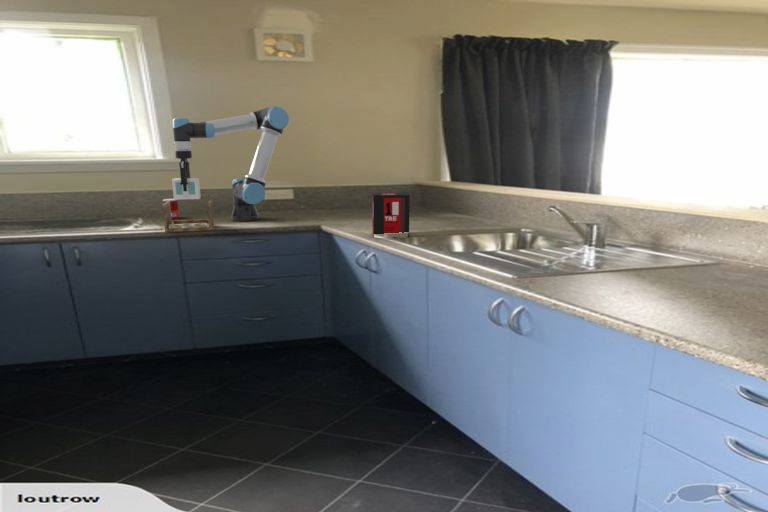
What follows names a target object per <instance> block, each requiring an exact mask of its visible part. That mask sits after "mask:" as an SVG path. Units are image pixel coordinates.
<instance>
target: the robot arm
mask: <svg viewBox="0 0 768 512" xmlns="http://www.w3.org/2000/svg"><path fill="white" fill-rule="evenodd" d="M289 122H290V118H289V114H288V112H287V111H286V109H285V108H283V107H282V106H276V105H275V106H270V107H268V106H267V107H265V108H262V109H259V110H255V111H251V112H249V114H243V115H236V116H231V117H225V118H220V119H214V120H207V121H202V122H191V121H190V120H189V119H188V118H187V117H186V118H185V117H175V118H173V119H172V131H173V139H174V140H173V141H174V143H173V146H174V150H175V151H174V153H175V159H178V160H179V159H180V162H179V164H178V165H179V173H180V178H181V183H180V185H182V190H183V198H189V190H188V183H187V178H191V171H190V169H191V168H190V162H189V161H188V159H192V158H193V154H192V144H191V143H192V142H191V139H213V138H214V137H216V135H223V134H228V133H233V132H234V133H235V132H239V131H244V130H250V129H253V130H261V134H260V138H259V141H258V142H257V143H258V144H257V147H256V150H255V153H254V156H253V160H252V161H251V165H250V169H249V171H248V174H245V175H244V177H243V178H234V179H233V180H232V182H231V188H232V199H233V201H232V202H233V209H232V212H231V215H230V216H231V221H234V222H252V221H257V220H259V219H260V218H259V217H260V216H259V215H260V214H259V212H258V210H257V207H256V205H257V204H260V203H261V202H262V201H263V200H264V199H265V197H266V190H265V188H266V184H267V182H266V180H265V179H266V178H265V177H266V175H267V171H268V169H269V166H270V163H271V160H272V156H273V153H274V150H275V148H276V144H277V141H278V138H279V137H281V136H282V135H283V131H284V129H285V128H286V127H287V126H288V125H289Z"/></svg>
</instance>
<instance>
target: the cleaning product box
mask: <svg viewBox="0 0 768 512" xmlns="http://www.w3.org/2000/svg"><path fill="white" fill-rule="evenodd" d="M371 195H372V197H371V200H372V201H371V203H372V204H371V205H372V208H371V209H372V216H371V217H372V221H371V223H372V235H373V234H384V233H399V232H402V233H404V232H409V233H410V199H411V197H410V196H411V195H410V194H409V193H408V192H396V193H395V192H389V193H388V192H384V193H383V192H381V193H380V192H377V193H376V192H375V193H374V192H373V193H371Z"/></svg>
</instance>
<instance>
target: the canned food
mask: <svg viewBox="0 0 768 512" xmlns="http://www.w3.org/2000/svg"><path fill="white" fill-rule="evenodd" d="M168 201H170V207H171V216H172V220H177V219H179V217H180V211H179V202H178V201H179V200H174V198H163V199H162V205H163V204H164V203H166V202H168Z"/></svg>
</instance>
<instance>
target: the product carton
mask: <svg viewBox="0 0 768 512" xmlns="http://www.w3.org/2000/svg"><path fill="white" fill-rule="evenodd" d="M171 183H172V184H171V185H172V196H173V199H174V200H177V201H179V200H200V199H201V198H202V195H201V186H200V178H199V177H198V178H197V177H195V178H194V177H192V178H191V177H190V178H187V183H188V190H189V198H183V190H182V185H180V183H181V177H180V178H178V177H177V178H176V177H175V178H172V179H171Z"/></svg>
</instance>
